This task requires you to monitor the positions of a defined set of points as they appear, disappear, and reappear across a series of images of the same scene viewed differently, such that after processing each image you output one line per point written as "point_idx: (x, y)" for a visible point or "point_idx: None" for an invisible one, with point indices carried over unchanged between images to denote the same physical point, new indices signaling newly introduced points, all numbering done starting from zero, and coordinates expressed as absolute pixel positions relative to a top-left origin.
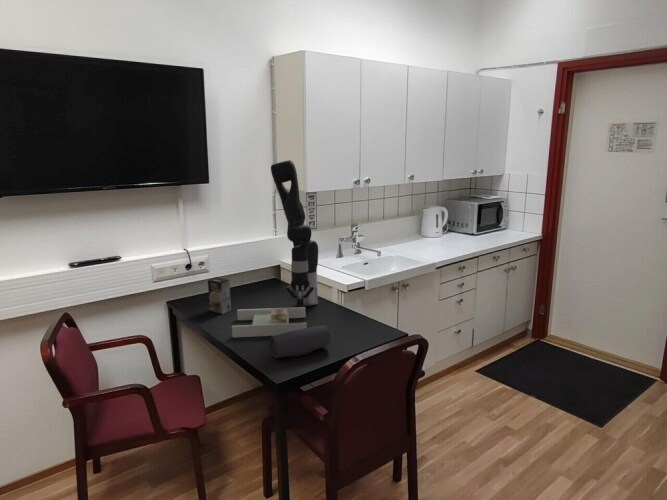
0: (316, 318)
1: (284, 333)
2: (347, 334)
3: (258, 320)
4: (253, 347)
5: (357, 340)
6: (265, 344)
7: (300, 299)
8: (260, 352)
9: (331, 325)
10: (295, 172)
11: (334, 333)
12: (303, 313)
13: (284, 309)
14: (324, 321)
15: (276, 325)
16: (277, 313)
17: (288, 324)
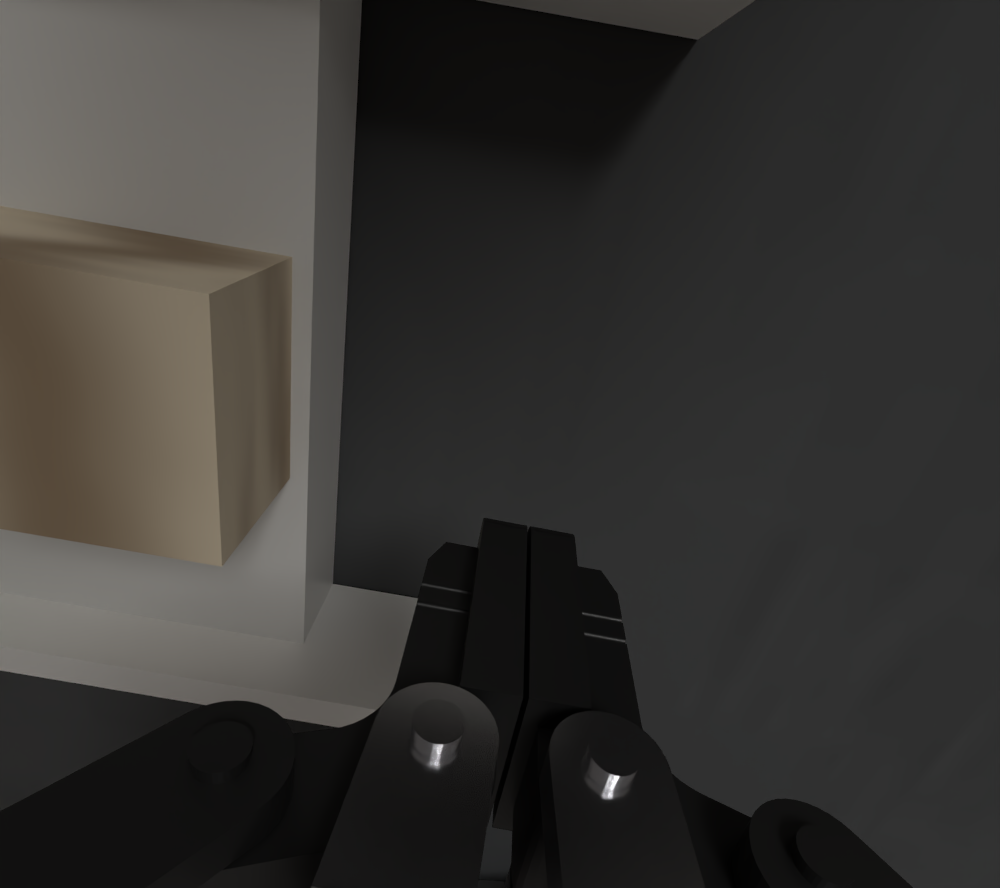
0: (880, 148)
1: None
2: (984, 757)
3: None
4: (4, 737)
5: (990, 870)
6: (105, 718)
7: (497, 824)
8: None
9: (959, 500)
10: None
11: (861, 703)
12: (673, 13)
13: (143, 303)
14: (944, 330)
15: (118, 680)
16: (20, 494)
17: (286, 714)
